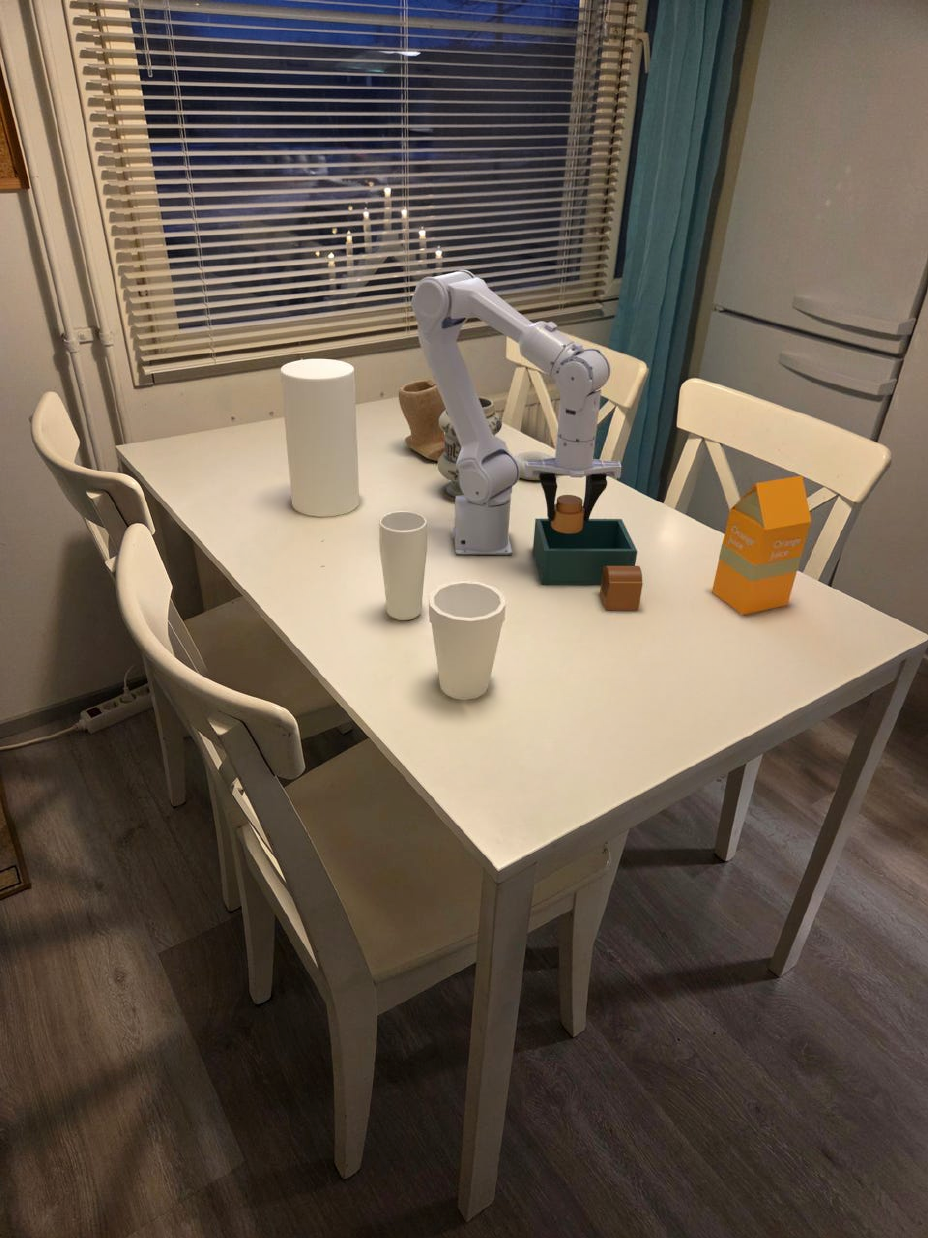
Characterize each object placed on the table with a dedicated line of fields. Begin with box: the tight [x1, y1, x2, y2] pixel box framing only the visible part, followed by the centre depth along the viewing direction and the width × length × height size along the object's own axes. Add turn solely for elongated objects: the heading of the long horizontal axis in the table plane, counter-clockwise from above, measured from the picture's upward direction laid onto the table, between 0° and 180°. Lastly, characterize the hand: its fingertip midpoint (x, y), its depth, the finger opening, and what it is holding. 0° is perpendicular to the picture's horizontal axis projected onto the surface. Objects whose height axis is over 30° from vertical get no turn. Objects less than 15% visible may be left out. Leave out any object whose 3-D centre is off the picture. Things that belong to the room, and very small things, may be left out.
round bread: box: [551, 494, 585, 533], centre depth 130 cm, size 5×5×5 cm
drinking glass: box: [378, 510, 428, 621], centre depth 119 cm, size 7×7×15 cm
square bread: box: [599, 565, 644, 611], centre depth 126 cm, size 5×5×6 cm
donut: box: [513, 451, 554, 481], centre depth 169 cm, size 10×4×10 cm
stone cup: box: [398, 379, 446, 462], centre depth 174 cm, size 15×12×15 cm
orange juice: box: [711, 475, 812, 616], centre depth 124 cm, size 8×9×20 cm
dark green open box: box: [532, 518, 638, 586], centre depth 135 cm, size 15×12×6 cm
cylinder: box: [280, 358, 360, 518], centre depth 148 cm, size 12×12×25 cm
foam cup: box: [428, 580, 507, 701], centre depth 104 cm, size 10×9×13 cm
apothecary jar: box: [436, 395, 503, 502], centre depth 156 cm, size 12×12×18 cm
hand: (567, 518), depth 130 cm, fingers closed on round bread, 5 cm apart
